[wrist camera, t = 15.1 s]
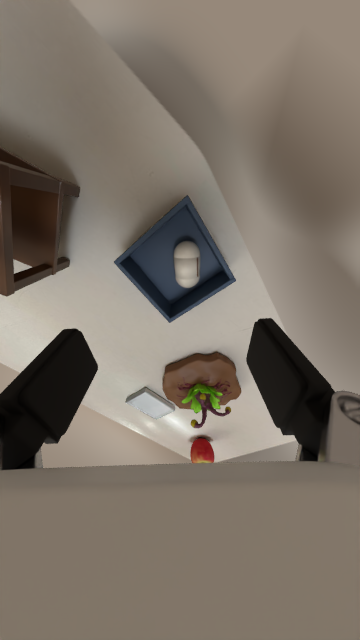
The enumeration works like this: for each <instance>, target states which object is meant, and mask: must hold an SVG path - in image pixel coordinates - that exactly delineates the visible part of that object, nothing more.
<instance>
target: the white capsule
mask: <svg viewBox="0 0 360 640" xmlns="http://www.w3.org/2000/svg"><path fill="white" fill-rule="evenodd" d="M174 269H175V279H176V281H177V283H178V284H179V285H180V286H182V287H184V288H191V287H194V286H195V285H196V284H197V283H198V281H199V279H200V250H199V248H198V246H197V245H196V244H195V243H194V242H192V241H183V242H181V243H179V244H178V245H177V246H176V248H175V250H174Z"/></svg>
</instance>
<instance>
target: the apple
mask: <svg viewBox="0 0 360 640" xmlns="http://www.w3.org/2000/svg"><path fill="white" fill-rule="evenodd" d="M191 461H192V463H213V462H214V452H213V449H212V446H211V444H210V443H209V442H208V441H207V440H206V439H204V438H199V439H197V440H195V441H194V442H193V444H192V447H191Z"/></svg>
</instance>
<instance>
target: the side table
mask: <svg viewBox="0 0 360 640" xmlns="http://www.w3.org/2000/svg"><path fill="white" fill-rule="evenodd" d="M79 190H80V187H78V186H76V185H75V184H73V183H71V182H68V181H64V180H61V179H58V178H56V177H54V176H52V175H50V174H49V173H47V172H45V171H43V170H41V169H39V168H38V167H36V166H34V165H32V164H30V163H28V162H27V161H25V160H23V159H21V158H19V157H17V156H16V155H14V154H12V153H10V152H8V151H6V150H5V149H3V148H1V147H0V294H2V295H4V296H9V295H11V294H14V293H15V291H17V290H19V289H21V288H23V287H25V286H28V285H30V284H32V283H34V282H36V281H39V280H41V279H43V278H45V277H47V276H49V275H54V274H56V272H58V271H60V270H63V269H65V268H67V267H69V262H70V260H68V259H66V258H64V257H61V258H58V248H59V238H60V228H61V217H62V207H63V197H64V195H70V196H75V197H79ZM57 258H58V259H57ZM13 259H15V260H17V261H20V262H22V263H24V264H27V265H29V266H32V268H30V269H27V270H24V271H21V272H18V273H15V274H14V267H13Z"/></svg>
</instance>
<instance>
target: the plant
mask: <svg viewBox="0 0 360 640" xmlns="http://www.w3.org/2000/svg"><path fill="white" fill-rule="evenodd" d="M163 391H164V393H165V395H166V397H167V399H168V400H171V401H173V402H174V403H175V404H176V405H177V406H178V407H179V408H182V409H194V412H195V413H198V412H200V410H201V409H202V414H203V415H202V422H201V424H198V422H197V421H196V420H192V421H191V426H192V427H194V428H200V427H202V426H203V424H204V423H205V420H206V417H207V415H206V414H207V410H209V411H211V412H213V414H215V415H218V416H225V415H227V414H229V413H230V412H231V408H230V407H226V408H225V411H226V412H225V413H223V414H222V413H219V412H217V411H216V410H215V409H214V408H216V409H220V405H226V404H227V403H228V402H229V401H230V400H234V399H237V398H238V397H239V395H240V394H241V388H240V385H239V382H238V380H237V378H236V368H235V365H234V363H233V362H231V361H230V360H229V359H228V358H227V357H225V356H222V355H221V354H219V353H218V352H216V353H214V354H212V355H202V354H195V355H193V356H191V357H188V358H186V359H183V360H181V361H179V362H176V363H173V364H171V365H168V366H166V368H165V376H164V378H163Z"/></svg>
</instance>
